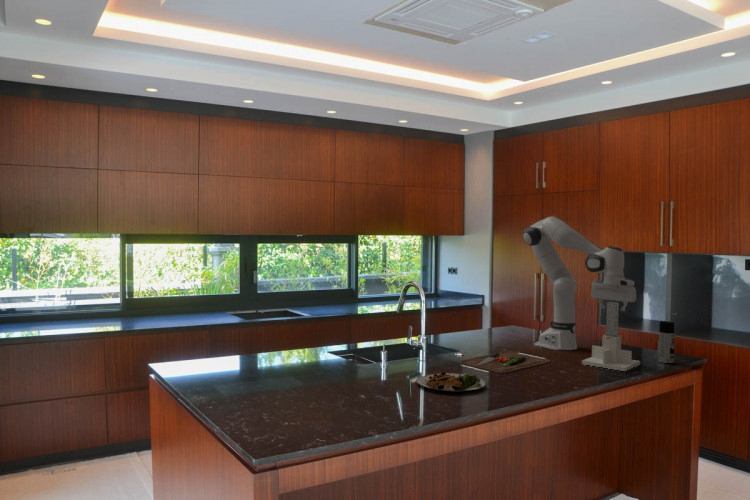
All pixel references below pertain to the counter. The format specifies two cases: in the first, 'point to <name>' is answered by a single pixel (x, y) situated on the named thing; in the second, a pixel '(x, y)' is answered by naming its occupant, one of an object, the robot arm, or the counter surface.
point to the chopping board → (503, 362)
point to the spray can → (666, 342)
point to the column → (612, 319)
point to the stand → (611, 355)
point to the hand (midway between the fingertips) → (612, 309)
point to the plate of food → (452, 381)
